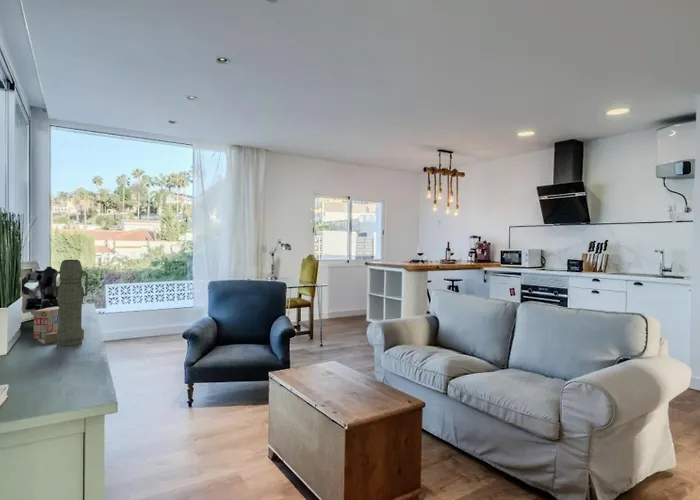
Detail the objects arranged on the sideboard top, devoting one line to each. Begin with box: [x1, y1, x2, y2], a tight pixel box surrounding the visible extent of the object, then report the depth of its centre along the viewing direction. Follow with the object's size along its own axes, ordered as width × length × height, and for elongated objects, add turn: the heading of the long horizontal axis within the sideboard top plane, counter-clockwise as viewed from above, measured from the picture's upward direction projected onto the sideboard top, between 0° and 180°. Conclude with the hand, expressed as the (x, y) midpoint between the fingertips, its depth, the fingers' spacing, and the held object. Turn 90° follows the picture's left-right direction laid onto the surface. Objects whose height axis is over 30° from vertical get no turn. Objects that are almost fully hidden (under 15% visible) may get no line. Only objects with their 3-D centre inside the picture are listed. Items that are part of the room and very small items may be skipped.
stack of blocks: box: [32, 307, 59, 340], centre depth 187 cm, size 21×6×12 cm, turn 179°
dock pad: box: [37, 328, 85, 345], centre depth 178 cm, size 11×14×4 cm
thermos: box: [53, 259, 89, 348], centre depth 169 cm, size 9×12×35 cm
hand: (53, 316), depth 191 cm, fingers closed
